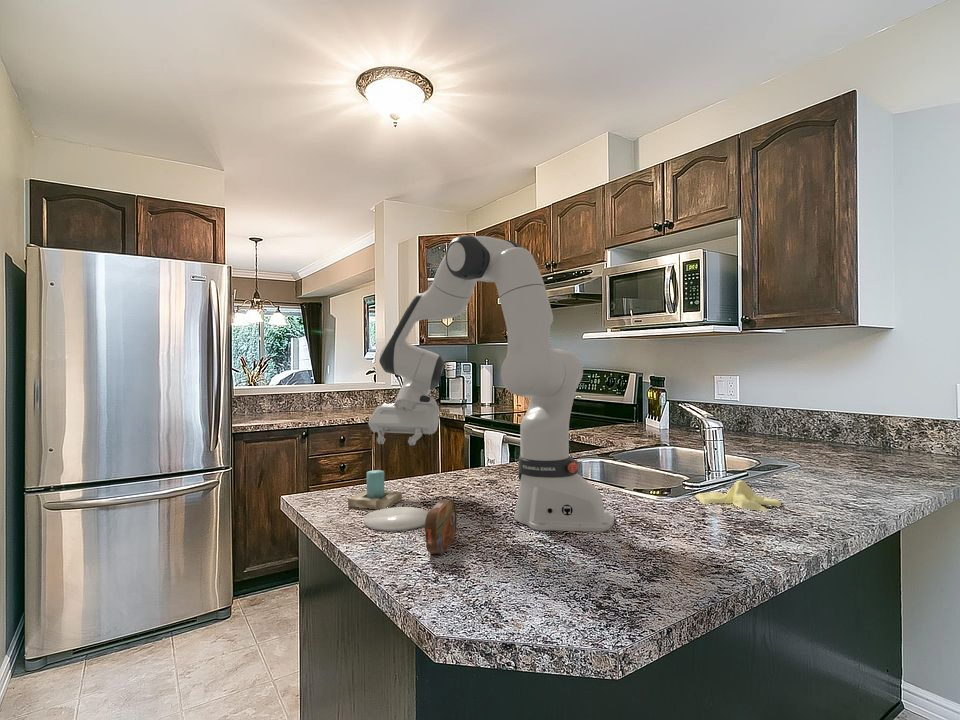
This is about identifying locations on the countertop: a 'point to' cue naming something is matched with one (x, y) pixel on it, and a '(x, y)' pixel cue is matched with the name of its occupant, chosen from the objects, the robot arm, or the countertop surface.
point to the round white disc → (395, 519)
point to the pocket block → (374, 500)
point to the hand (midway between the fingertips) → (395, 443)
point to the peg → (375, 484)
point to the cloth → (738, 498)
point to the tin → (440, 526)
